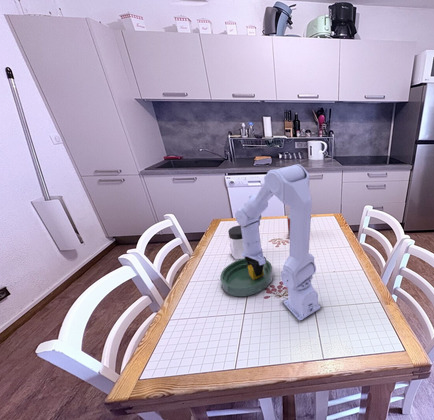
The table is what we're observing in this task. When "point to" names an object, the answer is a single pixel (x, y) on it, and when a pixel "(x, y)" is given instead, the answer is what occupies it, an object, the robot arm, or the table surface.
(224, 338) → the table surface
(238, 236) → the jar
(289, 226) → the canned food
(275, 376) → the table surface
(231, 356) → the table surface
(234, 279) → the bowl
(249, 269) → the yellow cube
